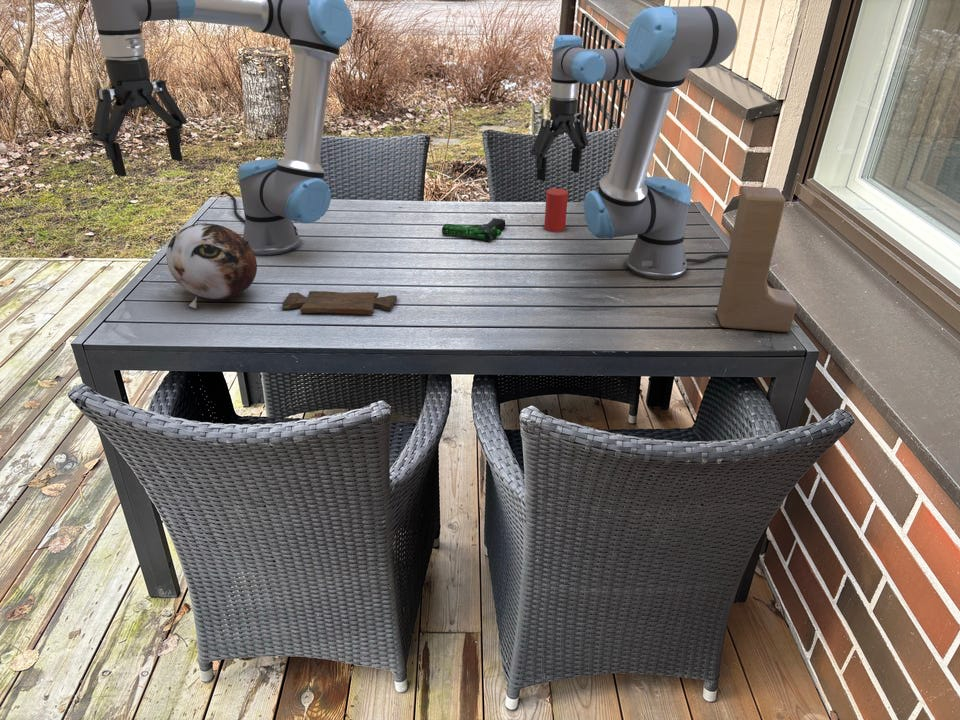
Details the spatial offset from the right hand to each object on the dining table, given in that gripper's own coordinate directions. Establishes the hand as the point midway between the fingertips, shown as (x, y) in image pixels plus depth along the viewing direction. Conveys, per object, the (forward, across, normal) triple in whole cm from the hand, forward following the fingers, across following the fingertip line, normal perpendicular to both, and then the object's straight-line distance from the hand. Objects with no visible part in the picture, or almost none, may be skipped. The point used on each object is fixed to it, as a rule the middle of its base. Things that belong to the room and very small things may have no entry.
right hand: (558, 175), depth 204 cm
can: (+16, 0, 0) cm, 16 cm away
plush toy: (+16, +96, -16) cm, 99 cm away
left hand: (-16, +105, -17) cm, 107 cm away
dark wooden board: (+15, +76, +6) cm, 78 cm away
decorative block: (+15, +8, +71) cm, 73 cm away
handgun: (+16, +21, -11) cm, 28 cm away
